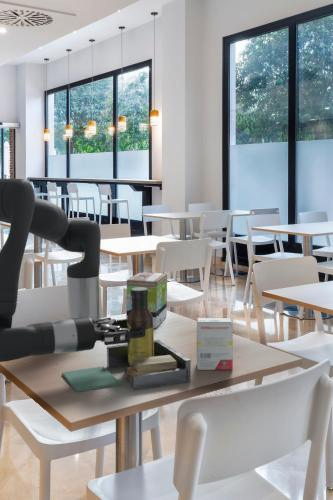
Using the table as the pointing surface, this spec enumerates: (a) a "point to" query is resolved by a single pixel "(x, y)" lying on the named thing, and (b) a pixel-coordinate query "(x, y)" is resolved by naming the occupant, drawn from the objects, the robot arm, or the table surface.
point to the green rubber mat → (90, 378)
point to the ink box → (214, 344)
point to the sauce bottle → (140, 318)
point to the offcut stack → (151, 365)
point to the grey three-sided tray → (155, 379)
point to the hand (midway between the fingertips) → (138, 327)
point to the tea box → (150, 294)
